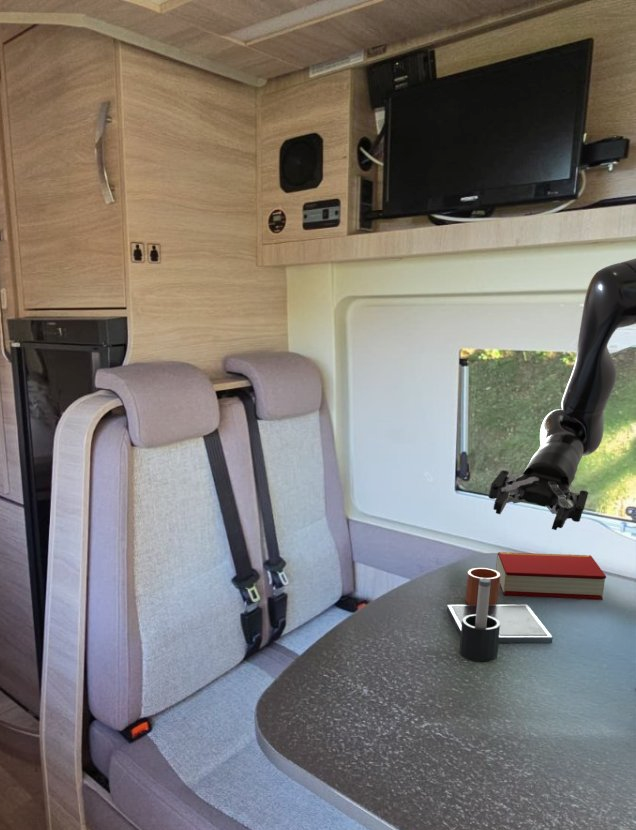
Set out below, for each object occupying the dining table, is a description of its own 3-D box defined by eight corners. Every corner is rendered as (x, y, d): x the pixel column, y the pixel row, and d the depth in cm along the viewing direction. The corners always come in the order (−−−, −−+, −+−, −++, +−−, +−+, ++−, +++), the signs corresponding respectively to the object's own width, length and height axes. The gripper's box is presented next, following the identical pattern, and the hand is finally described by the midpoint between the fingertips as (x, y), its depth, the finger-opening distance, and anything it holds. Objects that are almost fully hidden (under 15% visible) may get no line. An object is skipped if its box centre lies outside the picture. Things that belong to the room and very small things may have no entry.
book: (586, 576, 152) (589, 553, 151) (602, 599, 141) (606, 576, 139) (495, 572, 156) (497, 550, 155) (503, 595, 145) (506, 572, 143)
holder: (491, 645, 125) (494, 614, 123) (501, 662, 120) (504, 629, 118) (456, 645, 126) (458, 614, 124) (464, 661, 120) (466, 629, 118)
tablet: (526, 609, 138) (527, 603, 138) (552, 642, 125) (553, 636, 125) (446, 609, 140) (447, 604, 139) (463, 642, 127) (464, 636, 126)
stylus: (482, 648, 123) (489, 578, 119) (485, 653, 122) (492, 582, 117) (471, 648, 124) (478, 578, 119) (474, 653, 122) (480, 582, 117)
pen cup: (492, 595, 145) (495, 567, 143) (501, 607, 140) (504, 578, 137) (462, 595, 146) (464, 567, 144) (469, 607, 140) (471, 579, 138)
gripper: (513, 441, 124) (485, 484, 113) (602, 462, 117) (582, 509, 107) (503, 479, 128) (476, 523, 118) (588, 501, 122) (568, 550, 111)
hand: (526, 516), depth 112 cm, fingers open, 8 cm apart
